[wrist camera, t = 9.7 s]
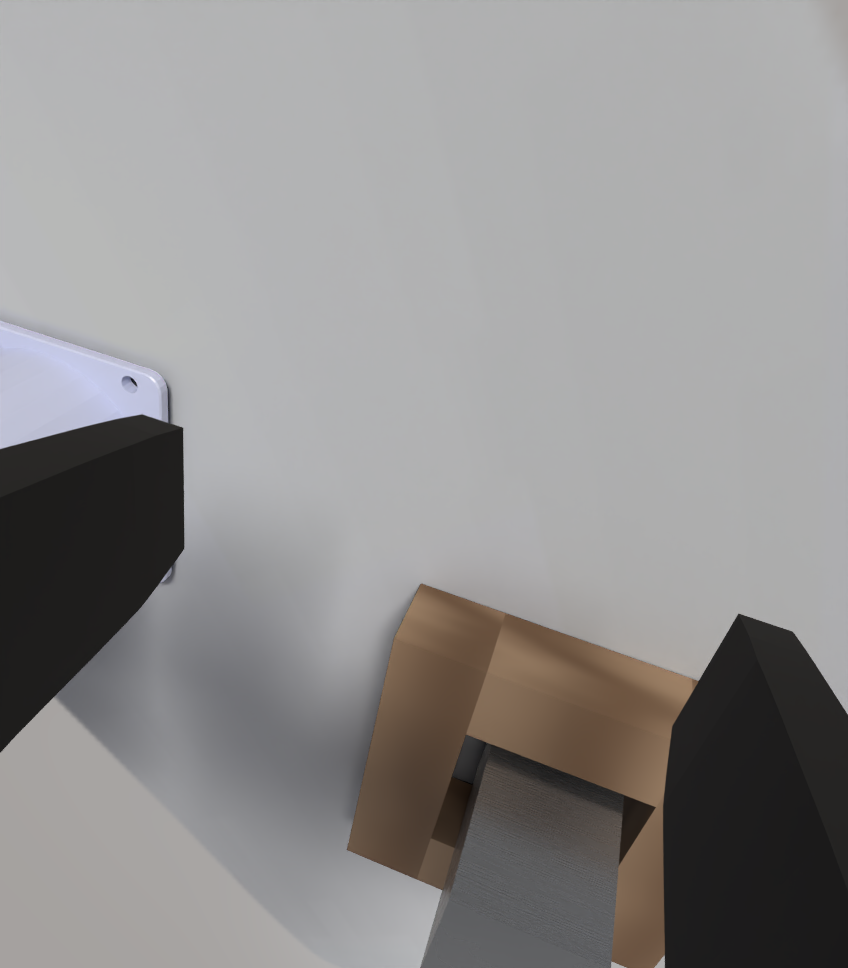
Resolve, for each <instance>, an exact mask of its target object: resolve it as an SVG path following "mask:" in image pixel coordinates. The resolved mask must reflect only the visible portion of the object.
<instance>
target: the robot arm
mask: <svg viewBox="0 0 848 968" xmlns="http://www.w3.org/2000/svg"><path fill="white" fill-rule="evenodd" d="M130 377H131V378H133V379H134V380H135V382H136V383H137V386H138V387H137V386H135V385H134V384H133V383H132V381H131V378H130ZM183 550H184V470H183V428H182V427H179V426H176V425H173V424H170V423H168V392H167V385H166V383H165V381H164V379H163V377H162V376H161V375H160V374H159V373H157V372H156V371H154V370H152V369H149V368H146V367H142V366H139V365H136V364H133V363H130V362H127V361H124V360H121V359H118V358H115V357H111V356H108V355H105V354H102V353H99V352H96V351H93V350H90V349H87V348H84V347H80V346H77V345H74V344H71V343H68V342H65V341H62V340H59V339H56V338H53V337H49V336H46V335H43V334H40V333H37V332H34V331H31V330H28V329H25V328H22V327H18V326H15V325H12V324H9V323H6V322H3V321H0V752H1V751H2V750H3V749H4V748H5V747H6V746H7V745H8V744H9V743H10V741H11V740H12V739H13V738H14V737H15V736H16V735H17V734H18V733H19V732H20V731H21V730H22V729H23V728H24V727H25V726H26V725H27V724H28V723H29V722H30V721H31V720H32V719H33V718H34V717H35V715H36V714H38V712H39V711H40V710H41V709H42V708H43V707H44V706H45V705H46V704H47V703H48V702H49V701H50V700H51V699H52V698H53V697H54V696H55V695H56V694H57V693H58V692H59V691H60V690H61V689H62V688H63V687H64V686H65V685H66V684H67V683H68V682H69V681H70V680H71V679H72V678H73V677H74V676H75V675H76V674H77V673H78V672H79V671H80V670H81V669H82V668H83V667H84V666H85V665H86V664H87V663H88V662H89V661H90V660H91V659H92V658H93V657H94V656H95V655H96V654H97V653H98V652H99V650H100V649H101V648H102V647H103V646H104V645H105V644H106V643H107V642H108V641H109V640H110V639H111V638H112V637H113V636H114V635H115V634H116V633H117V632H118V631H119V630H120V629H121V628H122V627H123V626H124V625H125V624H126V623H127V621H128V620H129V619H130V618H131V617H132V616H133V615H134V614H135V613H136V612H137V611H138V610H139V609H140V608H141V607H142V605H143V604H144V603H145V601H146V600H147V599H148V597H149V596H150V595H151V594H152V592H153V591H154V590H155V588H156V587H157V586H158V584H159V583H162V582H164V581H165V580H166V579H167V578H168V577H169V576H170V575H171V572H172V565H173V564H174V562H175V561H176V560H177V558H178V557H179V555H180V554H181V553H182V551H183ZM663 875H664V933H665V968H848V714H847V713H846V711H845V710H844V708H843V707H842V705H841V704H840V702H839V701H838V699H837V697H836V696H835V694H834V693H833V691H832V690H831V688H830V687H829V685H828V683H827V682H826V680H825V679H824V677H823V676H822V674H821V673H820V671H819V670H818V668H817V666H816V665H815V663H814V662H813V660H812V659H811V657H810V656H809V654H808V653H807V651H806V650H805V648H804V647H803V645H802V644H801V643H800V641H799V640H798V638H797V637H796V636H795V634H794V633H793V632H792V631H789V630H786V629H783V628H780V627H777V626H774V625H771V624H768V623H765V622H762V621H759V620H756V619H753V618H750V617H747V616H744V615H741V614H738V616H737V617H736V619H735V621H734V622H733V624H732V626H731V627H730V629H729V631H728V633H727V634H726V636H725V638H724V639H723V641H722V643H721V644H720V646H719V648H718V649H717V651H716V653H715V655H714V656H713V658H712V660H711V661H710V663H709V665H708V666H707V668H706V670H705V671H704V673H703V675H702V677H701V678H700V680H699V682H698V683H697V685H696V687H695V688H694V690H693V692H692V693H691V695H690V697H689V699H688V700H687V702H686V704H685V705H684V707H683V709H682V710H681V712H680V714H679V715H678V717H677V719H676V721H675V722H674V724H673V726H672V732H671V740H670V748H669V756H668V763H667V772H666V782H665V791H664V801H663Z"/></svg>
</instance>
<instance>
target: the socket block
mask: <svg viewBox="0 0 848 968" xmlns="http://www.w3.org/2000/svg"><path fill="white" fill-rule="evenodd" d="M698 682H699V681H696V680H693V679H691V678H688V677H685V676H682V675H679V674H676V673H674V672H671V671H668V670H665V669H662V668H659V667H656V666H654V665H651V664H648V663H645V662H642V661H639V660H637V659H634V658H631V657H628V656H625V655H622V654H620V653H617V652H614V651H611V650H608V649H605V648H603V647H600V646H597V645H594V644H591V643H588V642H585V641H583V640H580V639H577V638H574V637H571V636H568V635H566V634H563V633H560V632H557V631H554V630H551V629H549V628H546V627H543V626H540V625H537V624H534V623H531V622H529V621H526V620H523V619H520V618H517V617H514V616H512V615H509V614H506V613H503V612H500V611H497V610H495V609H492V608H489V607H486V606H483V605H480V604H478V603H475V602H472V601H469V600H466V599H463V598H460V597H458V596H455V595H452V594H449V593H446V592H443V591H441V590H438V589H435V588H432V587H429V586H426V585H424V584H421V585H420V587H419V589H418V591H417V593H416V595H415V597H414V599H413V601H412V603H411V605H410V607H409V609H408V611H407V613H406V615H405V617H404V619H403V621H402V623H401V625H400V627H399V629H398V631H397V633H396V635H395V637H394V641H393V645H392V650H391V654H390V659H389V663H388V668H387V672H386V677H385V681H384V686H383V690H382V695H381V699H380V704H379V708H378V713H377V717H376V722H375V726H374V731H373V735H372V740H371V744H370V749H369V753H368V758H367V762H366V766H365V771H364V775H363V780H362V784H361V789H360V793H359V798H358V802H357V807H356V811H355V816H354V820H353V825H352V829H351V834H350V838H349V843H348V847H347V850H348V851H351V852H353V853H355V854H358V855H360V856H363V857H365V858H367V859H370V860H372V861H374V862H377V863H379V864H382V865H384V866H386V867H389V868H391V869H393V870H396V871H398V872H401V873H403V874H405V875H408V876H410V877H412V878H415V879H417V880H420V881H422V882H424V883H427V884H429V885H432V886H434V887H436V888H439V889H441V890H443V887H444V883H445V880H446V876H447V873H448V869H449V866H450V862H451V859H452V855H453V852H454V848H455V845H456V841H457V838H458V834H459V831H460V827H461V824H462V820H463V817H464V813H465V810H466V806H467V803H468V799H469V796H470V792H471V789H472V785H471V784H468V783H466V782H463V781H461V780H458V779H456V778H453V777H452V774H453V771H454V769H455V766H456V763H457V760H458V757H459V754H460V751H461V748H462V745H463V742H464V739H465V736H466V735H469V736H471V737H474V738H477V739H479V740H482V741H484V742H487V743H490V744H492V745H495V746H497V747H500V748H503V749H505V750H508V751H510V752H513V753H516V754H518V755H521V756H524V757H526V758H529V759H531V760H534V761H537V762H539V763H542V764H544V765H547V766H550V767H552V768H555V769H557V770H560V771H563V772H565V773H568V774H571V775H573V776H576V777H578V778H581V779H584V780H586V781H589V782H591V783H594V784H597V785H599V786H602V787H605V788H607V789H610V790H612V791H615V792H618V793H620V794H623V795H624V801H623V815H622V828H621V841H620V854H619V867H618V881H617V894H616V907H615V920H614V934H613V947H612V960H611V961H612V962H615V963H617V964H619V965H622V966H624V967H627V968H654V967H655V966H656V965H657V963H658V962H659V961H660V960H661V958H662V957H663V956H664V955H665V933H664V875H663V801H664V791H665V782H666V772H667V763H668V756H669V748H670V740H671V732H672V726H673V724H674V722H675V721H676V719H677V717H678V715H679V714H680V712H681V710H682V709H683V707H684V705H685V704H686V702H687V700H688V699H689V697H690V695H691V693H692V692H693V690H694V688H695V687H696V685H697V683H698Z"/></svg>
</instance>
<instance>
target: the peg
mask: <svg viewBox="0 0 848 968" xmlns="http://www.w3.org/2000/svg"><path fill="white" fill-rule="evenodd" d="M623 801H624V795H623V794H620V793H618V792H615V791H612V790H610V789H607V788H605V787H602V786H599V785H597V784H594V783H591V782H589V781H586V780H584V779H581V778H578V777H576V776H573V775H571V774H568V773H565V772H563V771H560V770H557V769H555V768H552V767H550V766H547V765H544V764H542V763H539V762H537V761H534V760H531V759H529V758H526V757H524V756H521V755H518V754H516V753H513V752H510V751H508V750H505V749H503V748H500V747H497V746H495V745H492V744H490V743H486V746H485V748H484V751H483V754H482V756H481V759H480V762H479V764H478V768H477V771H476V775H475V778H474V782H473V785H472V789H471V792H470V796H469V799H468V803H467V806H466V810H465V813H464V817H463V820H462V824H461V827H460V831H459V834H458V838H457V841H456V845H455V848H454V852H453V855H452V859H451V862H450V866H449V869H448V873H447V876H446V880H445V883H444V887H443V890H442V894H441V897H440V901H439V904H438V908H437V911H436V915H435V918H434V922H433V925H432V929H431V932H430V936H429V939H428V943H427V946H426V950H425V953H424V957H423V960H422V964H421V967H420V968H611V960H612V947H613V934H614V920H615V907H616V894H617V881H618V867H619V854H620V841H621V828H622V815H623Z"/></svg>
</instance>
